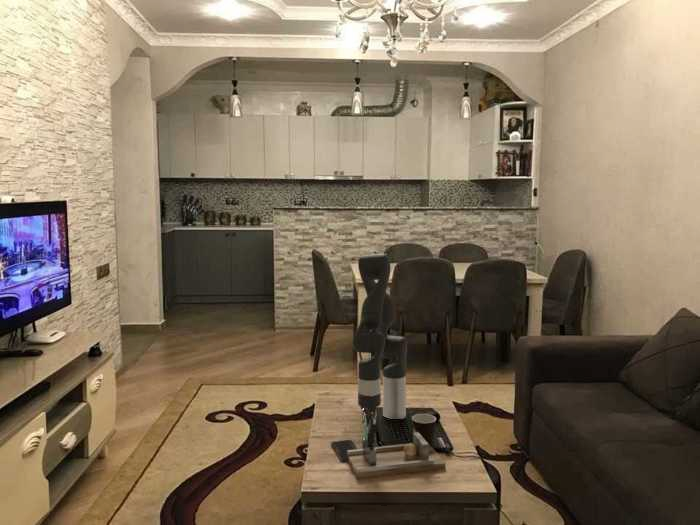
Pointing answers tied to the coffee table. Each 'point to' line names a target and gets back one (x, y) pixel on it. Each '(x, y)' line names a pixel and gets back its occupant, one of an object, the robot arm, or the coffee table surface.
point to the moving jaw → (369, 450)
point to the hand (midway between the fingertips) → (369, 440)
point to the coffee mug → (424, 426)
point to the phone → (343, 449)
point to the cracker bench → (396, 460)
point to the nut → (410, 450)
